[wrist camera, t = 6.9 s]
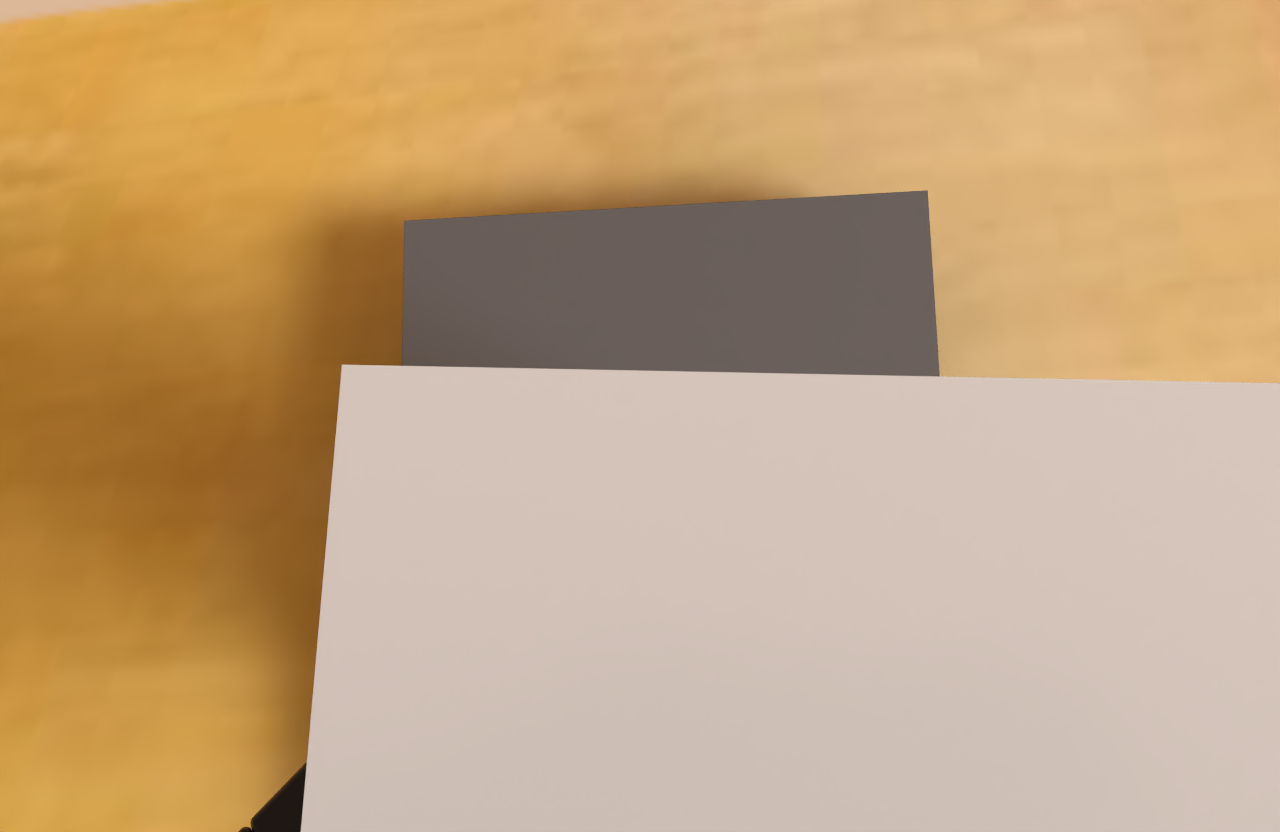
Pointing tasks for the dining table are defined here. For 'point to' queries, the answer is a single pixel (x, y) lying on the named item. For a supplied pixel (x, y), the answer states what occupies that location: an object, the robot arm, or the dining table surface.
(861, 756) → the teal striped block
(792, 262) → the block
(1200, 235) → the dining table surface
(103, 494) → the dining table surface
